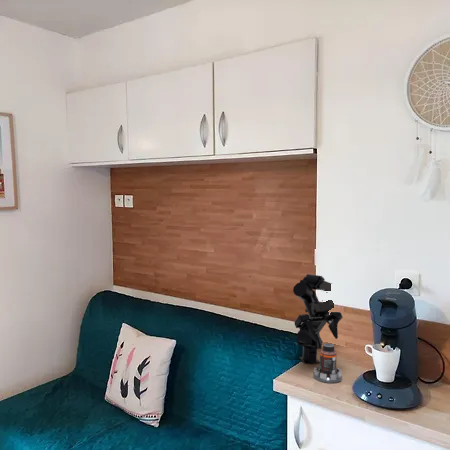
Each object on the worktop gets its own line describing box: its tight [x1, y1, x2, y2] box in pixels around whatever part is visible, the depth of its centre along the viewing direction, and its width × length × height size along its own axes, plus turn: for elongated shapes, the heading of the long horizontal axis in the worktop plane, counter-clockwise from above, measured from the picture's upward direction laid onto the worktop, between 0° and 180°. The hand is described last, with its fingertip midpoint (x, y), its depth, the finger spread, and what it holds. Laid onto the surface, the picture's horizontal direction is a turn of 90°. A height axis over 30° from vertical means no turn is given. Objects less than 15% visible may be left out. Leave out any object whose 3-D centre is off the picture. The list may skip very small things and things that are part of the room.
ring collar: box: [313, 365, 343, 384], centre depth 169 cm, size 10×10×3 cm
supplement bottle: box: [319, 343, 337, 377], centre depth 169 cm, size 6×6×11 cm
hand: (326, 339), depth 170 cm, fingers open, 9 cm apart
